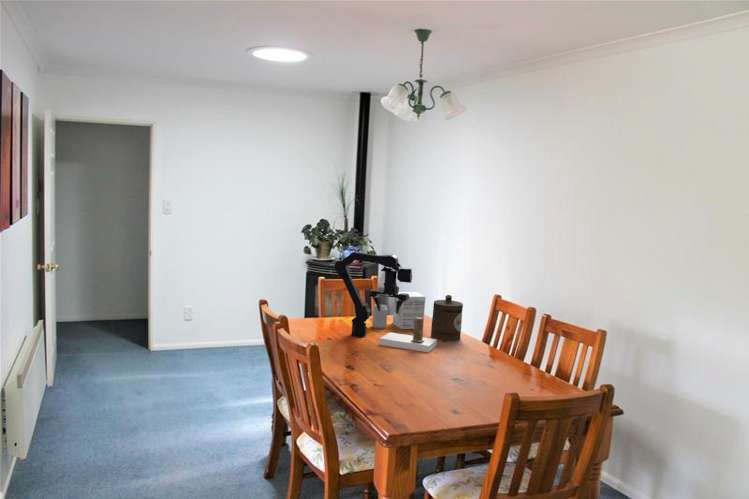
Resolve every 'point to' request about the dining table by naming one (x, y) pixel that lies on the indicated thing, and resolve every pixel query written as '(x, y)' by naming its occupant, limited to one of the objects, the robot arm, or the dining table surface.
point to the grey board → (407, 342)
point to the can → (379, 317)
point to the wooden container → (446, 319)
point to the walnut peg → (418, 329)
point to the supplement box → (409, 310)
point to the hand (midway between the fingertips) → (388, 312)
